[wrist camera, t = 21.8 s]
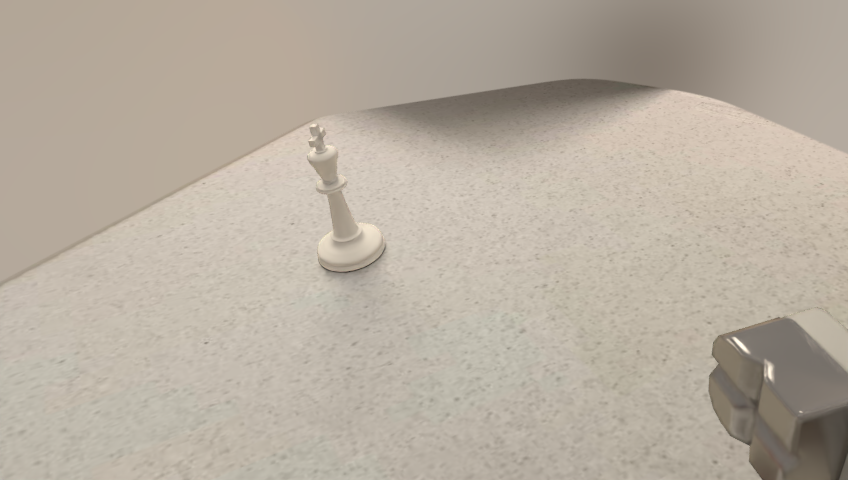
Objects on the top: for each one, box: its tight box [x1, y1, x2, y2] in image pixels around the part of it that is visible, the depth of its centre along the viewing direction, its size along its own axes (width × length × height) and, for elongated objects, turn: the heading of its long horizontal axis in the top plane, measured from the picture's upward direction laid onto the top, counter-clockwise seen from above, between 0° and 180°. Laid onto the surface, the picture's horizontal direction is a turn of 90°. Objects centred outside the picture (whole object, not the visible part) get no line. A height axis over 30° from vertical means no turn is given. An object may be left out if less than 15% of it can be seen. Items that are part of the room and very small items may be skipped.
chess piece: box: [307, 124, 385, 272], centre depth 44 cm, size 5×5×10 cm
